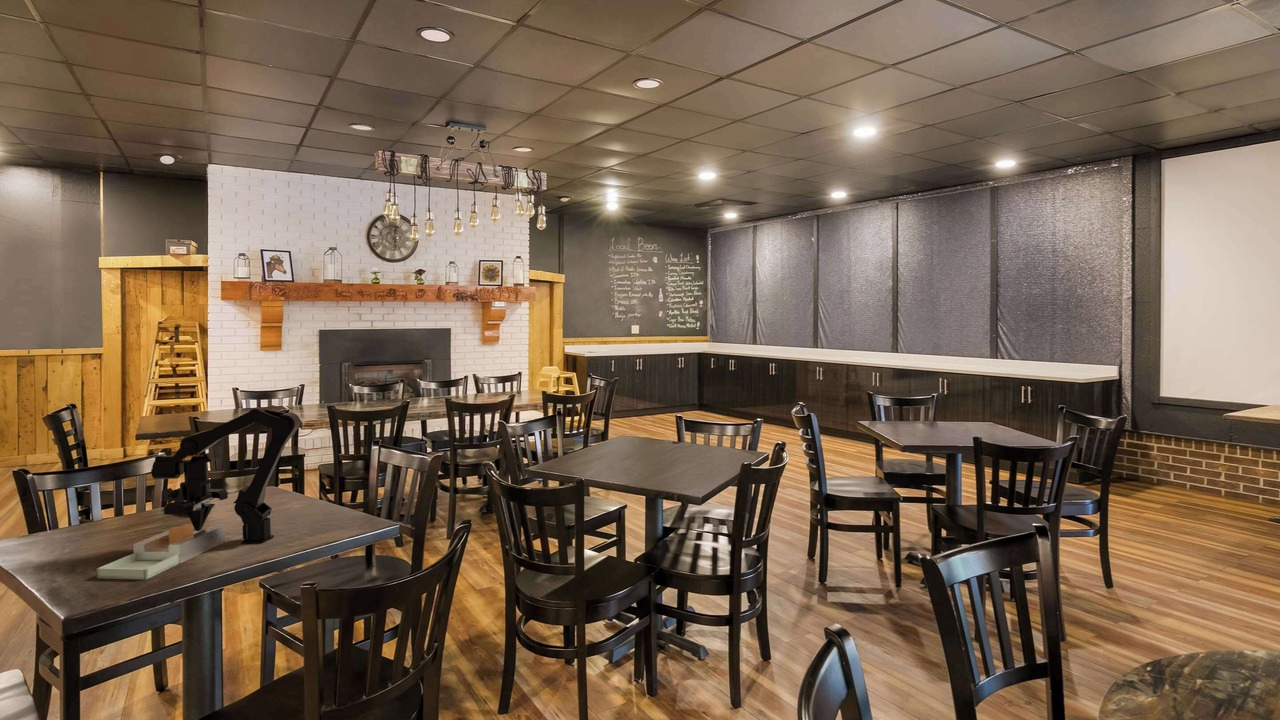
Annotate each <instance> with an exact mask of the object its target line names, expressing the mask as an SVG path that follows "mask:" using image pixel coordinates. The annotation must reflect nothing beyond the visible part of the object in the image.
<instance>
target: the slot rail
mask: <svg viewBox="0 0 1280 720" xmlns="http://www.w3.org/2000/svg"><path fill="white" fill-rule="evenodd" d="M226 541H227V540H226V525H225V524H215V525H212V526H210V527H207V528H205V529H203V530H202V529H201V530H200V531H196V530H195V531H194V530H193V535H191V536H188V537H186V538H184V539H181V540H179V541H176V542H174V543H169V529H167V530H166V531H163V532H161V533H158V534H155V535H152V536H150V537H148V538H146V539H143V540H140V541H138V542H135V543H133V554H134V558H135V561H164V560H166V559H168V558H170V557H172V556H175V555H178V557H179V564H182V563H184V562H186V561H188V560H190V559H192V558H195V557H197V556H199V555H201V554H203V553H206V552H207V551H209V550H212V549H214V548H215V547H217V546H220V545H222V544H225V543H226Z"/></svg>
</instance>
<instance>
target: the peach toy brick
mask: <svg viewBox="0 0 1280 720" xmlns="http://www.w3.org/2000/svg"><path fill="white" fill-rule="evenodd" d="M168 530H169V543H174V542H176V541H179V540H181V539H184V538H186V537H188V536H191V535H193V531H194V526H193V524H179V525H176V526H173V527H171V528H169V529H168Z"/></svg>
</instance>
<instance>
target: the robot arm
mask: <svg viewBox="0 0 1280 720" xmlns="http://www.w3.org/2000/svg"><path fill="white" fill-rule="evenodd" d="M256 423H257V424H259V425H262V426H264V427H266V428H269V429H271V431H270V440H269V443H268V446H267V448H266V450H265V452H264V455H263V457H262V458H261V461H260V463H259V465H258V467H257V469H256V471H255V474H254V475H253V478H252V480H251V482H250V484H249V485H245V486H244V487H243V488H241V489H240V490H239V491H238V494H237V498H236V499H235V501H234V502H233V504H234V507H233V508H234V512H235V514H236V515H237V516H238V517H239V518H240V520H241V521H242V524H243V525H242V540H240V543H241V544H262V543H264V542H265V543H266V542H267V541H269V540H270V539H272V538H274V537H275V535H274V534H272V532H271V528H272V527H271V518H270V517H268V516H270V515H271V513H272V510H273V509H272V507H270V506H269V505H268V504H267V503H265V502H264V501H265V497H266V491H267V490H266V489H267V485H268V483H269V481H270V479H271V477H272V474H273V472H274V470H275V469H276V466H277V464H278V462H279V459H280V457H281V455H282V453H283V452H284V449H285V446H286V445H287V443H288V442H290V440H291V438H292V437H293V436H294V435H295V433H296V432H297V430H298V429H299V428H300V426H301V418H300V417H299V415H298V414H296V413H295V412H286V413H284V412H280V411H276V410H272V409H271V410H270V409H266V408H263V407H261V406H260V407H259V406H258V407H255V408H253V409H250V410H249V411H247V412H246V413H243V414H241V415H239V416H237V417H235V418H233V419H231V420H229V421H228V420H227V422H224V423H223V424H220V425H218V426H216V427H214V428H211V429H207V430H204V431H199V432H196V433H193V434H190V435H188V436H185V437H183V438H182V439H181V440H180V444H179V449H178V450H177V451H176V452H175V453H174V455H172V454H171V455H163V454H160V455H159V454H158V455H156V456H155V457H154V462H153V463H152V468H151V469H150V470H151V477H152V479H153V480H170V479H172V480H173V479H180V477H181V475H183V477H184V481H183V482H182V481H181V482H180V484H179V487H178V488H176V489H172V488H171V487H169V488H165V489H163V490H161V496H160V497H161V500H162V501H164V502H167V503H166V504H165V506H163V515H165V516H166V515H169V516H170V515H175V516H176V515H178V516H179V515H181V516H184V515H185V514H187V515H186V516H188V518H189V521H190V522H191V525H193V529H194V530H195V531H202V529H203V527H204V524H205V522H206V520H207V518H208V517H209V515H210V513H211V512H212V509H213V508H214V507H215V505H216V504H215V503H211V500H214V499H218V500H219V501H225V500H226V499H228V498H229V495H228V494H229V493H228V490H226V489H224V488H210V489H209V484H212V478H209V474H208V463H211V462H213V461H215V460H216V457H215V456H213V455H211V453H210V452H207V453H204V455H198V454H201V453H203V452H205V451H207V450H208V449H209V448H211V447H212V446H214V445H216V443H218V442H219V441H221V440H222V439H223V438H226V437H228V436H230V435H232V434H234V433H236V432H239V431H241V430H242V429H245V428H247V427H249V426H251V425H253V424H256ZM189 457H190V459H189ZM187 458H188V459H187ZM178 500H179V501H178ZM184 500H186V501H184ZM174 501H175V502H174Z"/></svg>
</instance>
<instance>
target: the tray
mask: <svg viewBox="0 0 1280 720" xmlns="http://www.w3.org/2000/svg"><path fill="white" fill-rule="evenodd" d="M179 564H180V563H179V557H178V555H175V556H172V557H170V558H168V559H166V560H164V561H135V558H134V553H131V554H129V555H126V556H123V557H121V558H119V559H117V560H114V561H112V562H110V563H109V562H108V563H107V564H105V565H103V566H99V567H97V568H96V578H97V579H105V580H106V579H107V580H108V579H111V580H114V579H115V580H117V579H118V580H148V579H150V578H152V577H154V576H157V575H158V574H161V573H162V572H165V571H167V570H169V569H171V568H173V567H175V566H178V565H179Z"/></svg>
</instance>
